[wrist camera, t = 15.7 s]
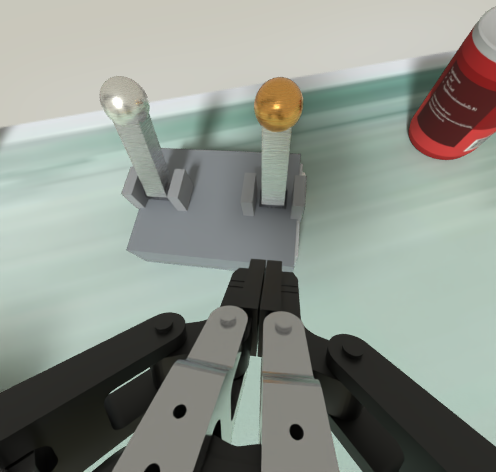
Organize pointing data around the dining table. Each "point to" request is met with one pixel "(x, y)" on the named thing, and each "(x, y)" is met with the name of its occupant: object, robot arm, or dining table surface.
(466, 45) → the canned food
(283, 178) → the lever orange
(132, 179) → the console
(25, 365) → the dining table surface
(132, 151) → the lever white
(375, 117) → the dining table surface
